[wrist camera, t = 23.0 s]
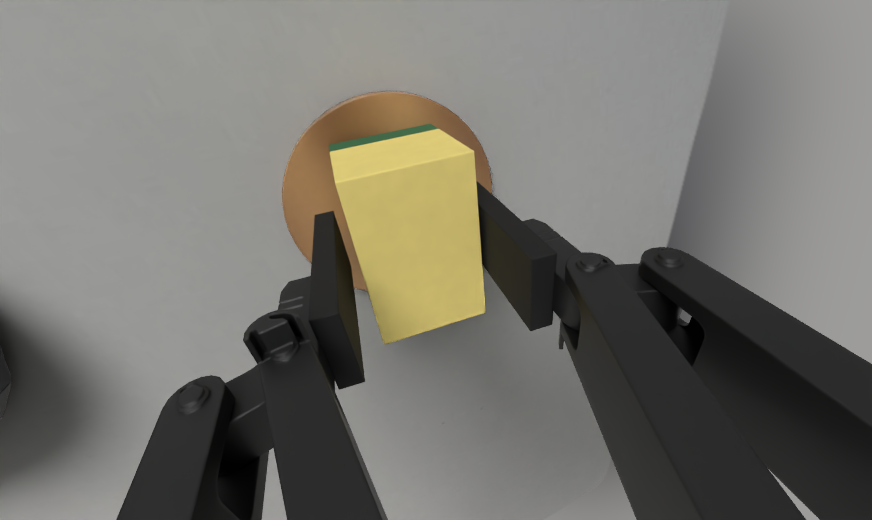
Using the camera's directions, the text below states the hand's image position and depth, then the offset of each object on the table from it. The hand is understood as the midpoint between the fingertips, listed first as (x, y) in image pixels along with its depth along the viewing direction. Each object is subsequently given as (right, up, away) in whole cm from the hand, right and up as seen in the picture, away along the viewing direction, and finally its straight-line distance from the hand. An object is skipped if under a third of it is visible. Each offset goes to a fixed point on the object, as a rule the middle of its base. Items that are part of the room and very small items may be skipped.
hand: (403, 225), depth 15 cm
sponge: (0, +1, +2) cm, 2 cm away
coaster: (-1, +1, +2) cm, 3 cm away
